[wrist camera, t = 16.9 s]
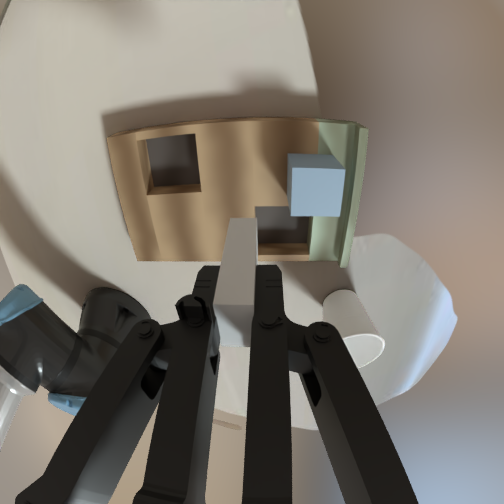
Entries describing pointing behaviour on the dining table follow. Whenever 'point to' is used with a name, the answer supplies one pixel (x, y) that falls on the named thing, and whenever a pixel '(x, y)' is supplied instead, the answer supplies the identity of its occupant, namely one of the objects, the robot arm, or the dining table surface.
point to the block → (314, 185)
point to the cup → (353, 326)
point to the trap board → (233, 186)
